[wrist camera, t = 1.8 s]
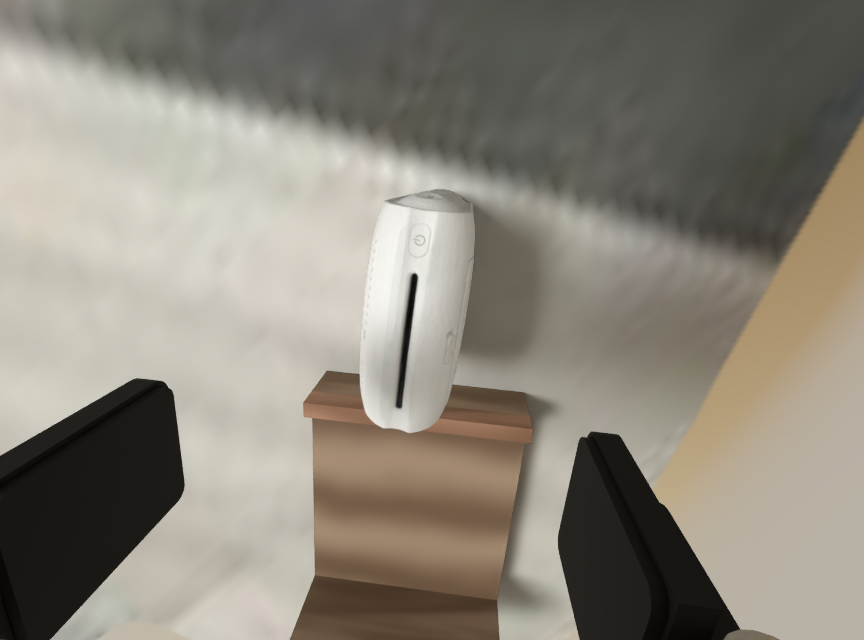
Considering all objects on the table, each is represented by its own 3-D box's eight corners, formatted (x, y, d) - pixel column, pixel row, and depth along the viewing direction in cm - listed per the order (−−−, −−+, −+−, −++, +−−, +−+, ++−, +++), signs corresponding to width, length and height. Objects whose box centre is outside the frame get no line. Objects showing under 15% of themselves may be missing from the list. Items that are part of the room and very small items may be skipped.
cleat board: (326, 370, 30) (261, 459, 21) (524, 392, 29) (549, 495, 20) (327, 561, 36) (276, 697, 27) (491, 583, 35) (499, 732, 26)
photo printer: (409, 182, 26) (359, 187, 14) (480, 192, 25) (488, 206, 14) (391, 338, 29) (338, 448, 17) (453, 348, 29) (442, 465, 17)
